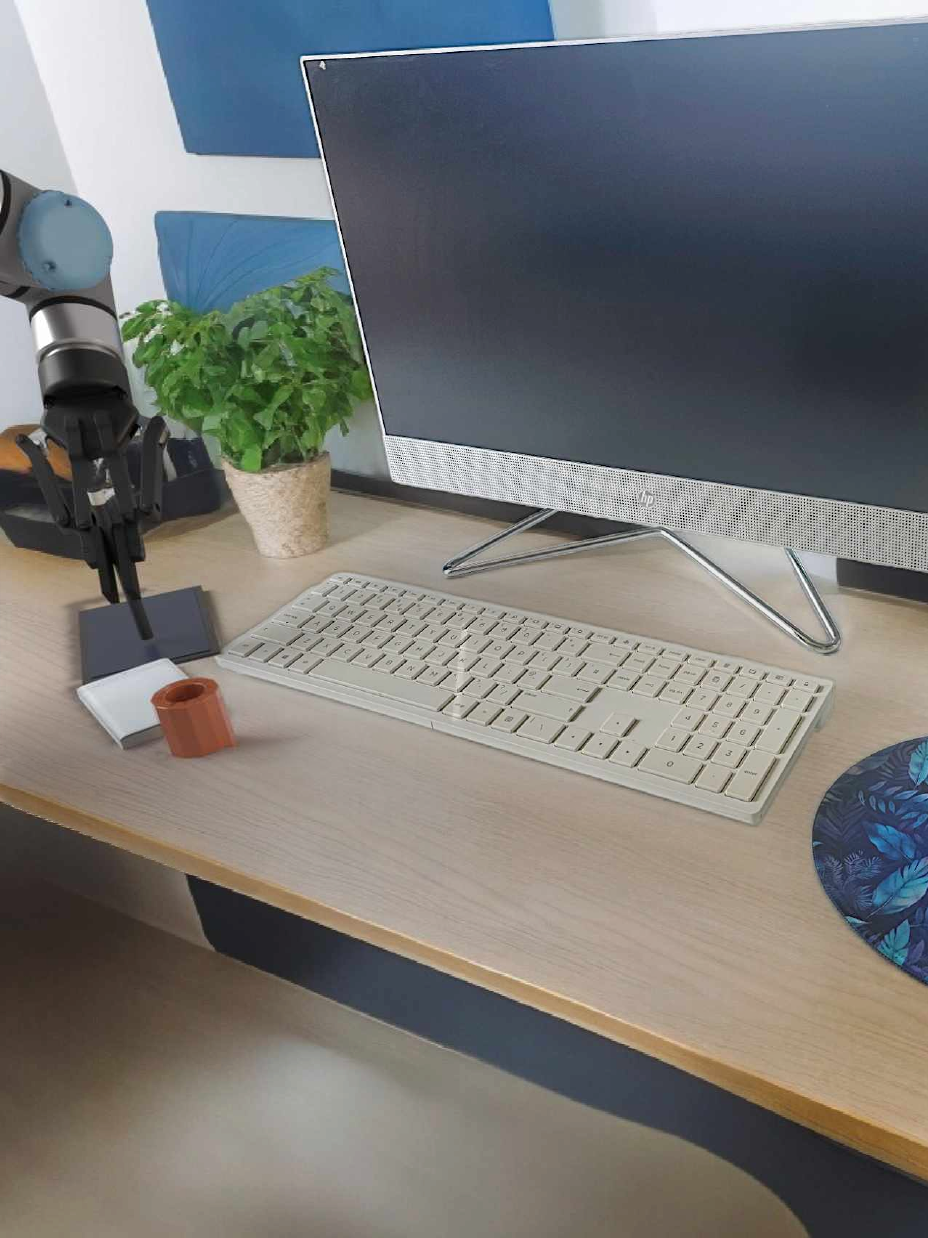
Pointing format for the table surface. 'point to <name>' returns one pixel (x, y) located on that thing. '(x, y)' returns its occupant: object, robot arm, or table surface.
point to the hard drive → (130, 701)
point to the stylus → (108, 533)
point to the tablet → (176, 637)
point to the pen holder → (193, 718)
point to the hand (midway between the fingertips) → (121, 596)
